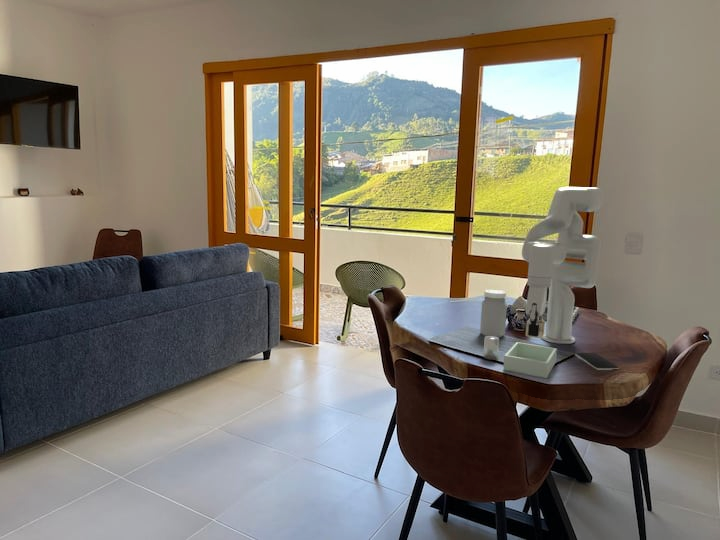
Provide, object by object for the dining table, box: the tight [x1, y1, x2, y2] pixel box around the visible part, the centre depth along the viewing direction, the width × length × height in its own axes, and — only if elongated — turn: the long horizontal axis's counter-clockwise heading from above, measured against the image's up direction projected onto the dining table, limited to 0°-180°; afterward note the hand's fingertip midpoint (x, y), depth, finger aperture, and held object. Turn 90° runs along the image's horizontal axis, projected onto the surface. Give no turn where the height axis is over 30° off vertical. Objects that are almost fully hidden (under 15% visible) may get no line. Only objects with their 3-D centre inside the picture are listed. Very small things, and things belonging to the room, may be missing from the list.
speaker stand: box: [542, 306, 580, 323], centre depth 246 cm, size 23×23×3 cm
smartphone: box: [574, 352, 620, 371], centre depth 182 cm, size 8×1×15 cm
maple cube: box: [525, 318, 546, 339], centre depth 177 cm, size 5×5×5 cm
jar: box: [479, 288, 508, 339], centre depth 210 cm, size 10×10×18 cm
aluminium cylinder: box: [482, 336, 500, 360], centre depth 184 cm, size 5×5×7 cm
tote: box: [503, 341, 558, 379], centre depth 176 cm, size 18×14×5 cm
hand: (534, 333), depth 177 cm, fingers closed on maple cube, 4 cm apart
